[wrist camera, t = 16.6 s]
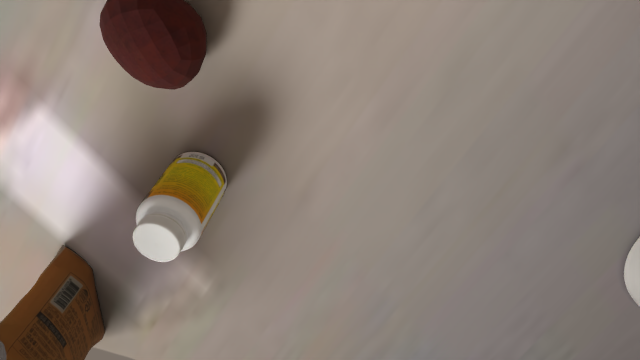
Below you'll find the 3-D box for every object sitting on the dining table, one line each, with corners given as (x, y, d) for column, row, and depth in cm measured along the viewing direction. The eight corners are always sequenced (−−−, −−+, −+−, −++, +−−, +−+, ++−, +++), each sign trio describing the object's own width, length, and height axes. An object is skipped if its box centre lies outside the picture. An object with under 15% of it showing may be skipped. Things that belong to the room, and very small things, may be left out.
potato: (188, -42, 43) (156, -22, 38) (233, 60, 47) (209, 89, 42) (108, -12, 46) (68, 10, 41) (157, 83, 49) (126, 113, 44)
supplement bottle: (173, 142, 52) (122, 206, 44) (232, 158, 52) (192, 225, 44) (169, 191, 55) (121, 259, 47) (225, 206, 55) (187, 277, 47)
